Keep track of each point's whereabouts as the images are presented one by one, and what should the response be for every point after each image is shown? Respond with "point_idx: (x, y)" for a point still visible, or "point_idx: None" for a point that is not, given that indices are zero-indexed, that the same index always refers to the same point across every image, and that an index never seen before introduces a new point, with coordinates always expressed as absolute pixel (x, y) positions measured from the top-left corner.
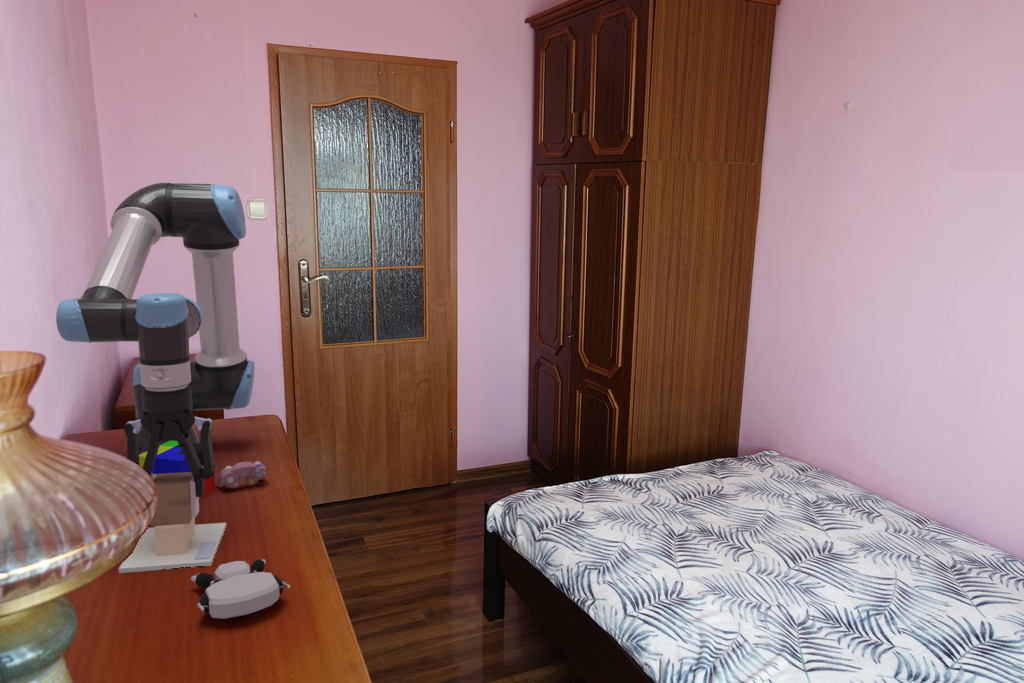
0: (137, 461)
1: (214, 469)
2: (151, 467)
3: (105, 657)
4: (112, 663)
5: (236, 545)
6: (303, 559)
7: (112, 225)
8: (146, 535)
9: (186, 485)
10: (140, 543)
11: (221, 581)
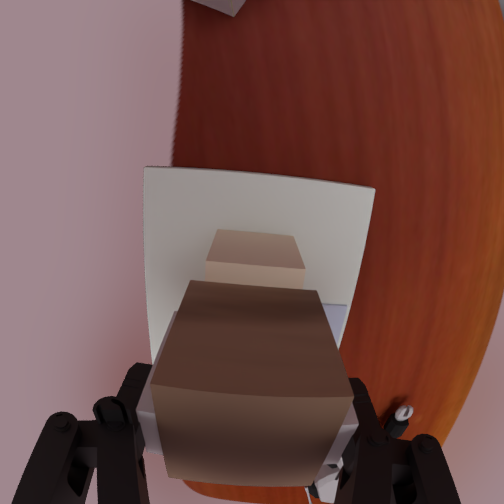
0: (69, 498)
1: (434, 443)
2: (147, 501)
3: (214, 488)
4: (224, 493)
5: (384, 301)
6: (463, 366)
7: None
8: (159, 220)
9: (307, 483)
10: (157, 266)
11: (338, 479)
